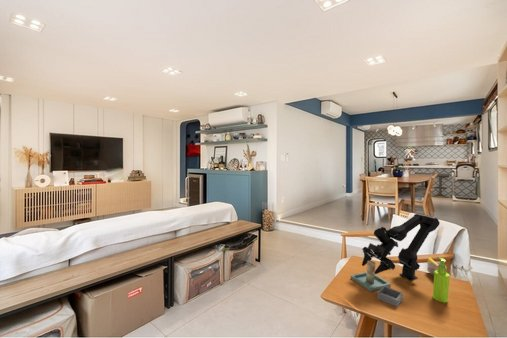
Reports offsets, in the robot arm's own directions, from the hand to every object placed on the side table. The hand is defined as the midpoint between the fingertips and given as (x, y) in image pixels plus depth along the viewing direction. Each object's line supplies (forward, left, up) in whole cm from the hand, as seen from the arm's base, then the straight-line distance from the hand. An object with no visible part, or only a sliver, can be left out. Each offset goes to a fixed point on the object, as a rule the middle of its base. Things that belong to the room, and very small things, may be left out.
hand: (368, 269), depth 130 cm
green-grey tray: (-1, 0, -8) cm, 8 cm away
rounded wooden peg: (-1, 0, -7) cm, 7 cm away
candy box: (-42, +8, -8) cm, 44 cm away
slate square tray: (+2, +15, -8) cm, 17 cm away
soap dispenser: (-23, +22, -8) cm, 33 cm away
